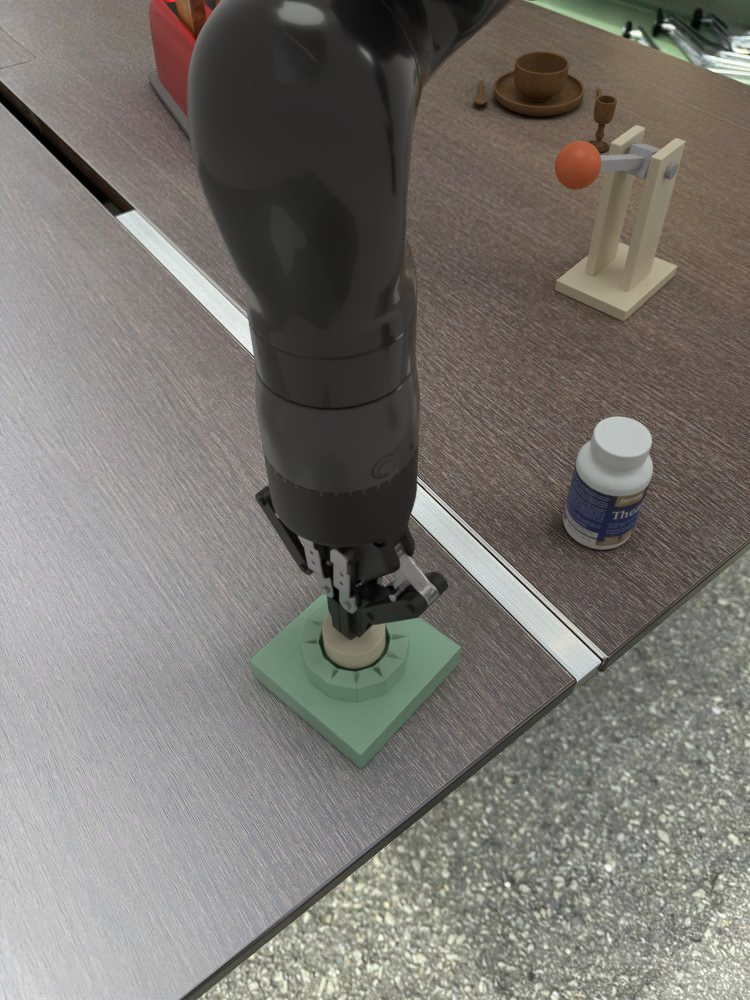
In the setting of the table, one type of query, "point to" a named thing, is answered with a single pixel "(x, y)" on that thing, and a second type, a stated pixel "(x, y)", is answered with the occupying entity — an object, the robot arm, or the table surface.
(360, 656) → the button
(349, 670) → the button block
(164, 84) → the toaster
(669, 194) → the bracket
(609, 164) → the lever
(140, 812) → the table surface
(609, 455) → the pill bottle
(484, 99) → the place setting
